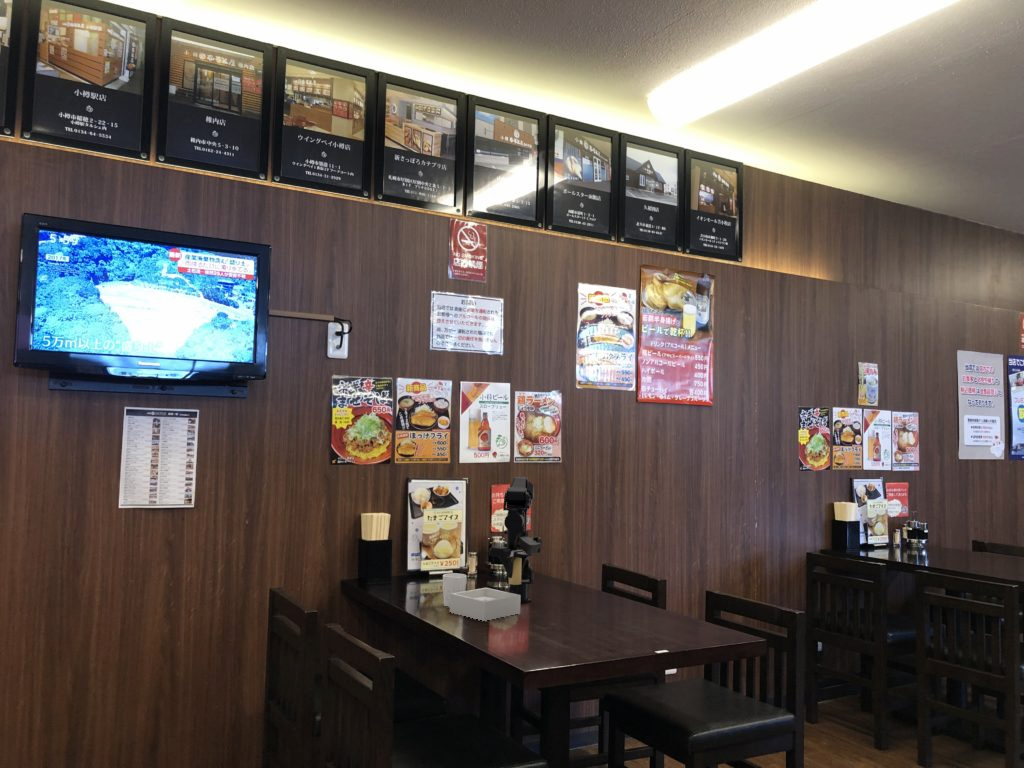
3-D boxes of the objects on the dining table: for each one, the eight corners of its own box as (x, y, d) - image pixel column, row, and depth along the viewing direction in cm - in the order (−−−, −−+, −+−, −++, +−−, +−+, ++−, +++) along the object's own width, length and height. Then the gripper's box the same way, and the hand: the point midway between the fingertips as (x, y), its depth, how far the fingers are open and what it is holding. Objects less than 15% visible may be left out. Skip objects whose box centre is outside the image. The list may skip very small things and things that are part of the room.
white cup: (437, 606, 266) (438, 575, 267) (450, 602, 273) (450, 572, 274) (457, 609, 263) (458, 578, 263) (470, 605, 270) (470, 574, 270)
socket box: (485, 605, 269) (486, 587, 269) (520, 614, 258) (520, 595, 258) (449, 612, 257) (450, 593, 258) (484, 621, 246) (484, 601, 246)
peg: (514, 581, 260) (515, 556, 260) (523, 583, 257) (524, 558, 257) (506, 583, 257) (506, 558, 257) (515, 585, 254) (515, 559, 254)
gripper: (514, 532, 245) (513, 584, 245) (553, 528, 259) (552, 577, 258) (488, 529, 253) (487, 579, 252) (527, 524, 267) (526, 572, 266)
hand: (514, 577), depth 257 cm, fingers closed on peg, 4 cm apart
